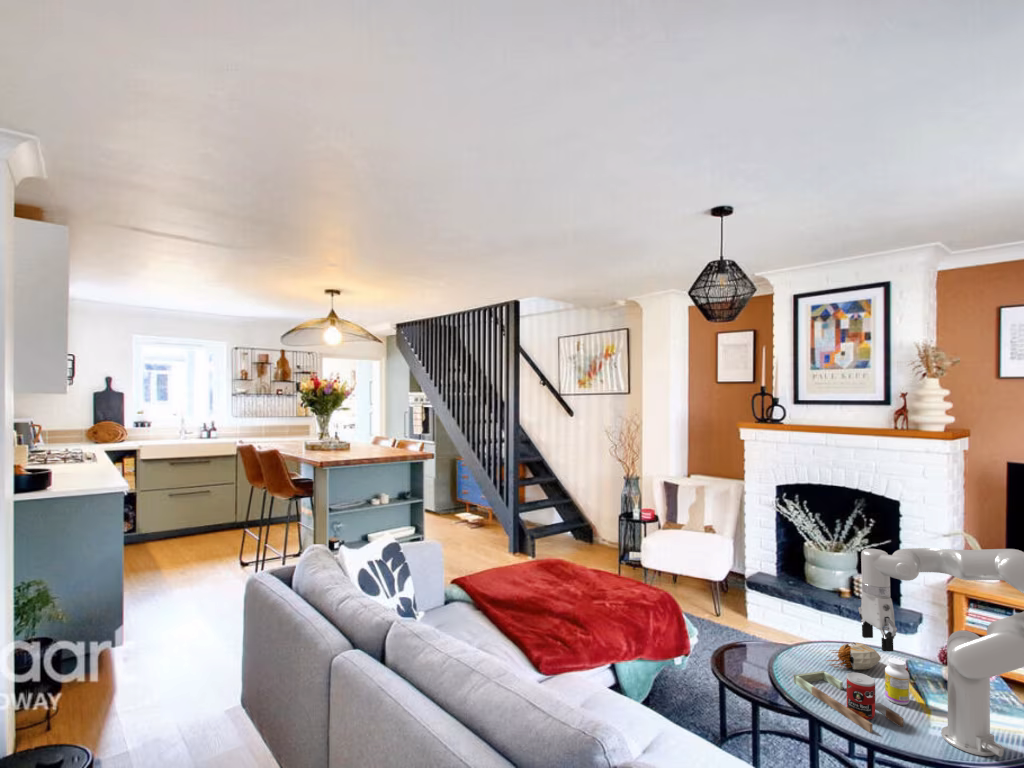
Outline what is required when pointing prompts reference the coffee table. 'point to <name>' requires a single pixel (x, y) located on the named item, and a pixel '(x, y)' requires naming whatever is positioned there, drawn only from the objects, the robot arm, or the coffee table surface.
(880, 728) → the coffee table surface
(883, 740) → the coffee table surface
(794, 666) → the coffee table surface
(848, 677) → the canned food
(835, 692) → the coffee table surface
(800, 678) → the wooden kitchen tongs
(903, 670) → the supplement bottle
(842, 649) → the nautilus
